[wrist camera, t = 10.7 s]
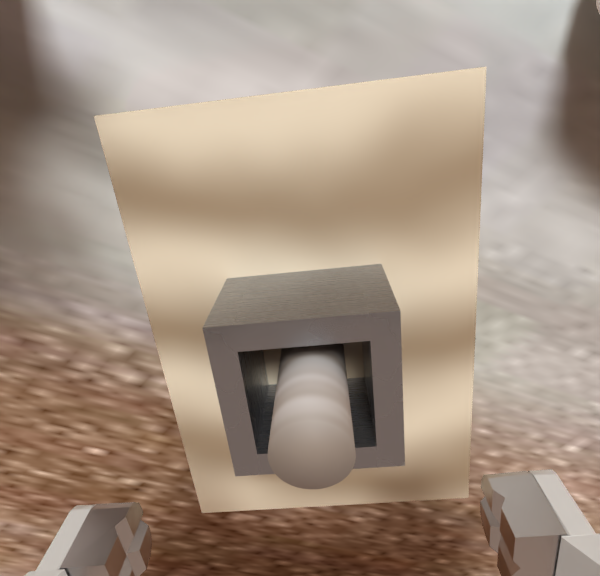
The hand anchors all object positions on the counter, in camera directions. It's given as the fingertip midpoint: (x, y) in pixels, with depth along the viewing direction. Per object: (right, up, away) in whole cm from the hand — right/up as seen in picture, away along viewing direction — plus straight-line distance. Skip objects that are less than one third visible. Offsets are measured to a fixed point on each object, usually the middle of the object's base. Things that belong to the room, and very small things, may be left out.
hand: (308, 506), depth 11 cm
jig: (0, +3, +10) cm, 10 cm away
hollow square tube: (0, +3, +9) cm, 9 cm away
